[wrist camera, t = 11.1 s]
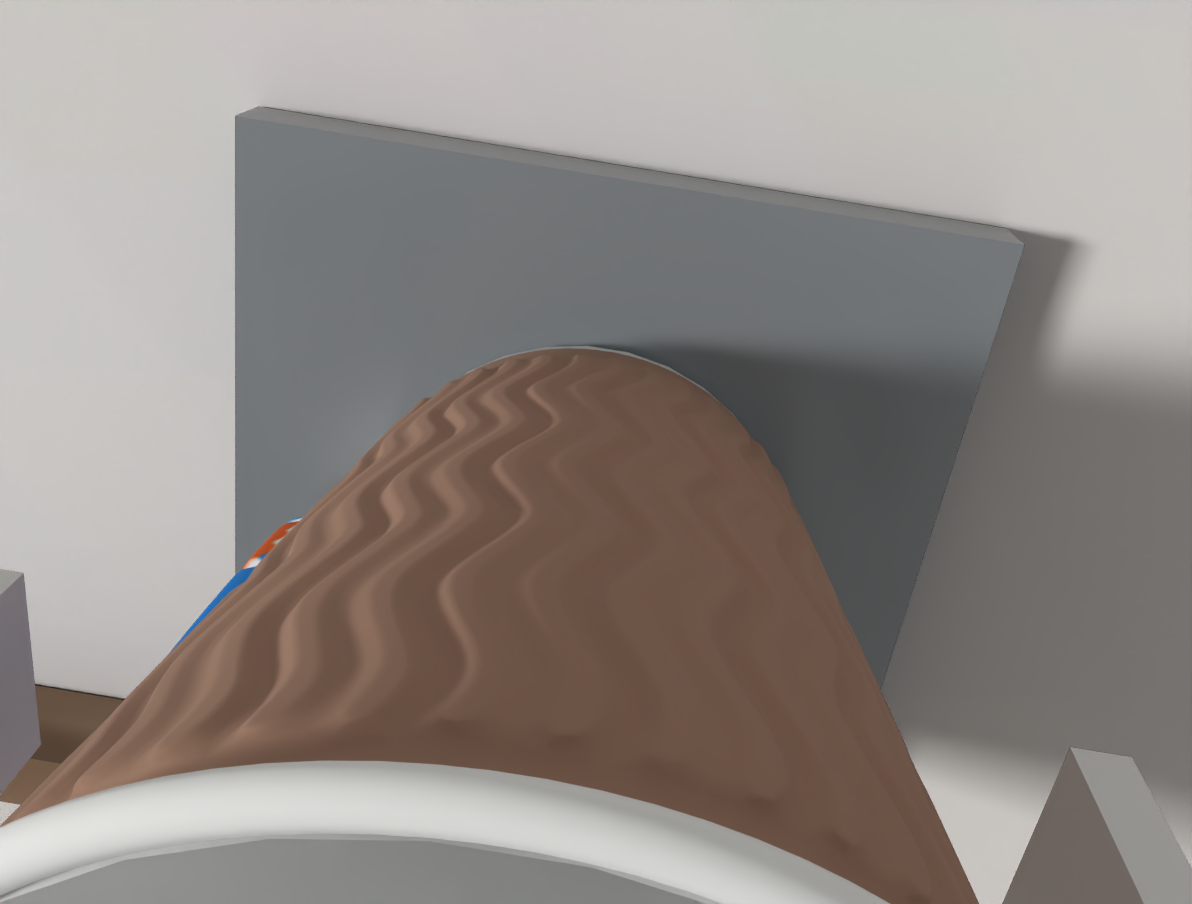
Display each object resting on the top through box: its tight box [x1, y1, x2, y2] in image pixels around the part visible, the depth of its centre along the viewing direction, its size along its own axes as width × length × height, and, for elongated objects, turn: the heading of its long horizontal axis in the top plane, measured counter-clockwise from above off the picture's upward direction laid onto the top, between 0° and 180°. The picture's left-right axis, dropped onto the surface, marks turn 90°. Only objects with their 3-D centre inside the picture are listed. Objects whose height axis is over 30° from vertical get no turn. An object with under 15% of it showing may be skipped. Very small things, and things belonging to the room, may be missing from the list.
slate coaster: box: [235, 107, 1025, 689], centre depth 19 cm, size 12×12×1 cm
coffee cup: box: [0, 346, 979, 904], centre depth 13 cm, size 10×10×12 cm
